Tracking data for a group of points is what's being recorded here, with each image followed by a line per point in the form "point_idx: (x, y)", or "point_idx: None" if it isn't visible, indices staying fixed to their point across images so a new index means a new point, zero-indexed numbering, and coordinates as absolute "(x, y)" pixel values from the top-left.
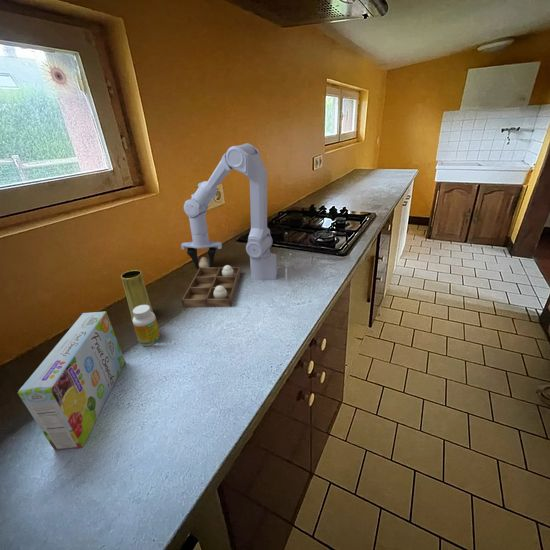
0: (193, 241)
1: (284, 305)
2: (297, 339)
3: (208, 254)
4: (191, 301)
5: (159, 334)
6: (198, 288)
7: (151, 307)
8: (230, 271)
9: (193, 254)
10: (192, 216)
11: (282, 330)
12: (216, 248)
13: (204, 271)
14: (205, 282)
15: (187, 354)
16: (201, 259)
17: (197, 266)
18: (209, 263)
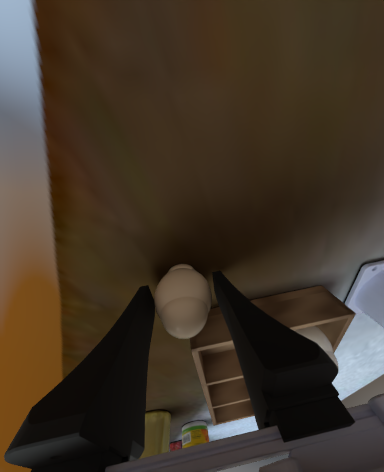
0: None
1: (379, 350)
2: (363, 384)
3: (249, 392)
4: (231, 415)
5: (207, 431)
6: (232, 400)
7: (164, 432)
8: None
9: (144, 420)
10: None
11: (352, 381)
12: (326, 378)
13: (207, 331)
14: (228, 356)
15: (245, 420)
16: (179, 337)
17: (153, 302)
18: (211, 296)
